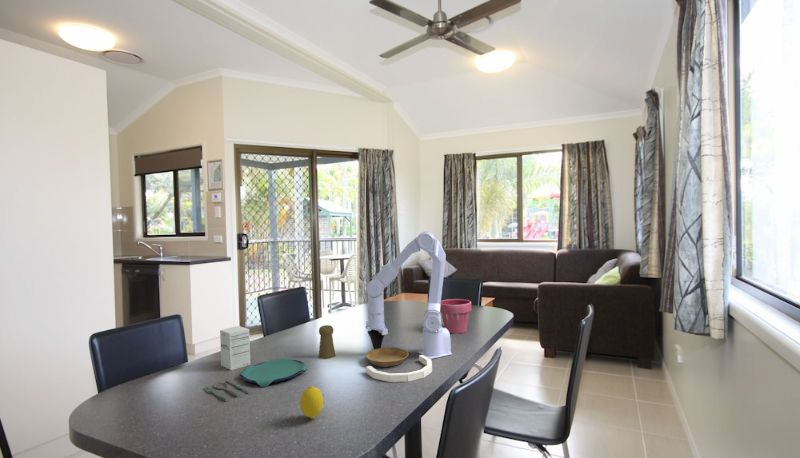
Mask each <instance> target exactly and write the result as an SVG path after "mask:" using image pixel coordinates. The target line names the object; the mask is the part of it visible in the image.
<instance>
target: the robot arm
mask: <svg viewBox="0 0 800 458" xmlns="http://www.w3.org/2000/svg"><path fill="white" fill-rule="evenodd" d="M421 250H423V251H424V252H425V253H427V254H428V256H430V257H431V259H432V265H431V273H430V274H431V275H430V282H429V291H428V292H429V293H428V301H427V308H426V310H425V312H424V314H423V322H422V323H423V327H422V348H423V349H422V351H418V354H419V355H424V356H426V357H428V358H430V359H431V360H433V359H438V358H442V357H446V356H451V355H453V353H452V352H451V349H452V346H451V335H450V334H451V333H449V331H448V330H447V329H446V328H445V327H444V326H442V315H441V312H440V304H441V301H442V294H443V285H444V276H445V268H446V267H445V266H446V260H447V259H446V258H447V255H446V252H445V250H444V249H443V246H442V244H441V243H440V241H439V239H438V238H437V237H436V235H434V234H433V233H432V232H431V231H425V230H424V231H423V232H421V233H420V234H419V235H418V236H416V237H415V238H414V239H412V240H411V241H410V242H409V243H407V245H405V246H404V248H403V250H402V251H401V252H400V253H399V254H398V255H397V257H396V258H395V259H394V260H393V261H392V262H391V263H388V262H387V263H386V264H385V265H384V264H383V265H382V266H380V270H379V271H378V272H377V273H376V274H375V275H373V276H372V280H370V281H368V283H367V285H366V289H365V290H366V292H367V315H368V316H367V317H368V318H367V319H368V320H367V321H366V322H365V329H367V330H368V331H367V335H368V337H369V338H370V341H371V345H372V347H373V348H372V350H374V349H379V348H382V345H383V341H384V338H385V336H387V335H389V334H388V333H389V332H388V331H389V330H388V328H387V326H386V325H385V305H384V304H385V300H384V293H383V292H384V290H385V288H387V287H388V286H389V285H390V284H391V283H392V282H393V280H395V278H396V277H398V275H399V268H400V267H401V266H402V265H403V264H404V263H406V261H407V260H408V259H409V258H410V257H411V256H412V254H414V253H418V252H421ZM369 329H370V330H369Z"/></svg>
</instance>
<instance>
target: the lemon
mask: <svg viewBox="0 0 800 458" xmlns="http://www.w3.org/2000/svg"><path fill="white" fill-rule="evenodd" d="M299 407H300V410H301V412H302V414H303V415H304V416H306V417H307V418H310V419H314V418H315V417H316V416H318V415H319V414H320V413H321V412H322V410H323V407H324V397H323V394H322V391H321V390H320V389H319V388H318V387H314V386H313V385H310V386H309V387H307V388H305V389H304V391H303V392H302V393H301V395H300V400H299Z"/></svg>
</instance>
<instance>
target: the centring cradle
mask: <svg viewBox="0 0 800 458" xmlns="http://www.w3.org/2000/svg"><path fill="white" fill-rule="evenodd" d="M418 362H419V363H421V364H423V365H424V367H422V368H421V369H418V370H414V371H410V372H399V373H397V372H396V373H395V372H394V373H393V372H385V371H380V370H378V369H376V368H374V367H373V366H372V365H368V366H366V368H365V369H366V371H365V372H366V374H367V375H369V376H370V377H371V378H372V379H374V380H378V381H383V382H387V383H388V382H389V383H400V382H404V383H406V382H411V381H415V380H419V379H423V378H426V377H427V376H428V375H430V374H431V373H432V372H433V361H432V359H430V358H428V357H426V356H424V355H421V354H419V355H418Z"/></svg>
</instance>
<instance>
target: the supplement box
mask: <svg viewBox="0 0 800 458" xmlns="http://www.w3.org/2000/svg"><path fill="white" fill-rule="evenodd" d="M219 334H220V335H219V337H220V341H219V342H220V367H223V368H226V369H228V370H229V371H235V370H238V369H242V368H244V367H245V368H246V367H247V366H248V367H249V366H251V344H250V341H251V340H250V338H251V337H250V329H249V328H246V327H243V326H240V325H237V326H231V327H227V328H223V329H220V330H219Z"/></svg>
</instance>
